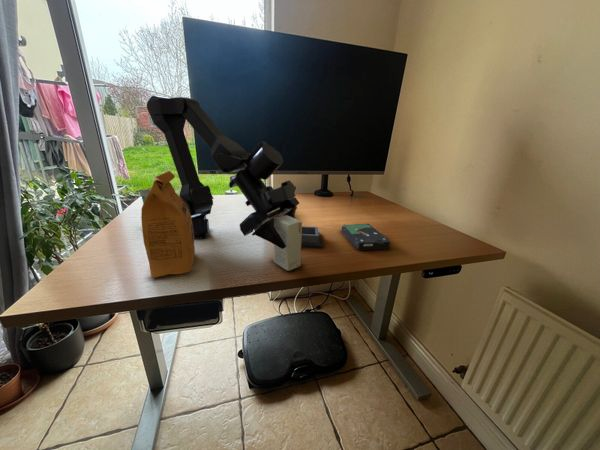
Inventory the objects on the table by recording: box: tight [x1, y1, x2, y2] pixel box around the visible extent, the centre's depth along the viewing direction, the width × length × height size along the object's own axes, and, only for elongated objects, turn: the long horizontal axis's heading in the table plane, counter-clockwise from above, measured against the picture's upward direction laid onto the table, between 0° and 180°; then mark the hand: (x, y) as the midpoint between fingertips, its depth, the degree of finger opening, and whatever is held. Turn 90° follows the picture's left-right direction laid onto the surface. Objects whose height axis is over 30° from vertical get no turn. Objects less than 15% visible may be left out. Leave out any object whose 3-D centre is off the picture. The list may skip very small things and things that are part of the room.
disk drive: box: [341, 223, 391, 251], centre depth 78 cm, size 10×3×15 cm
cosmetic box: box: [273, 215, 303, 272], centre depth 59 cm, size 6×4×12 cm
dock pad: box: [301, 225, 323, 249], centre depth 75 cm, size 10×11×3 cm
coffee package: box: [140, 170, 196, 279], centre depth 55 cm, size 10×12×22 cm
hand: (292, 242), depth 59 cm, fingers open, 7 cm apart
